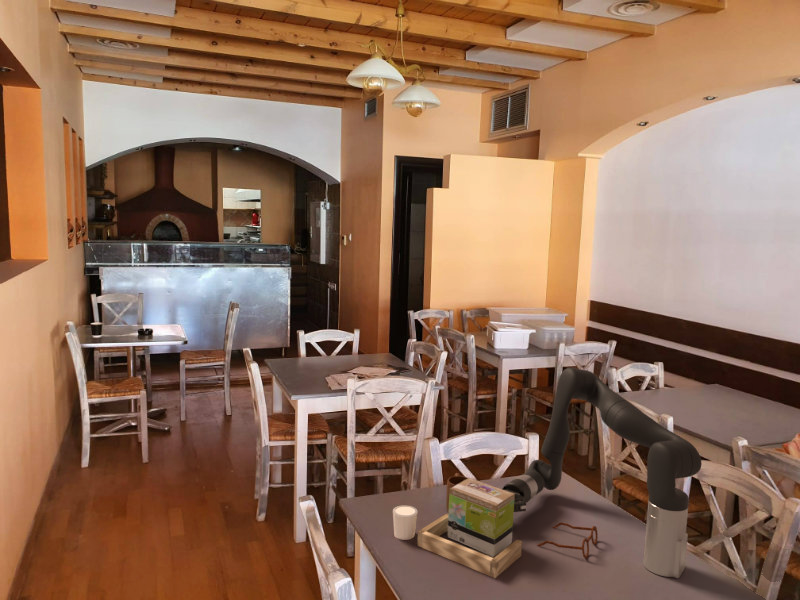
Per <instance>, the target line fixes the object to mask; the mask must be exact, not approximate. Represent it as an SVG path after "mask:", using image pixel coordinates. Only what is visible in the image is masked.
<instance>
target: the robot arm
mask: <svg viewBox="0 0 800 600" xmlns="http://www.w3.org/2000/svg"><path fill="white" fill-rule="evenodd" d="M555 390H556V391H555V395H554V401H553V406H552V411H551V417H550V422H549V425H548V426H549V427H548V429H547V433H546V435H545V437H544V441H543V444H542V445H541V450H540V452H541V455H542V456H543V457H544V458H545V459H547V460H548V462H549V463H547V462H545V461H543V460H541V459H533V461H531V463H530V464H529V466H528V468H527V469H526V471H525V472H524V473H523V474H521V475H519V476H516V477H515V478H514V479H512V480H510V481H509V482H507V483H506V484H505V485H503V488H501V489H502V490H505V491H508V492H511V493H514V494H515V499H514V513H521V512H527V503H529V502H530V501H531V500H533V499H534V497H535V496H537V495H538V494H540V493H541V492H542V491H543V490H544V488H545V489H546V490H548V491H554V490H556V489H557V488H558V487H559V486H560V484H561V481H562V475H563V474H562V473H563V461H564V455H565V452H566V451H567V447H568V444H569V441H570V437H571V428H570V421H569V415H568V413H569V407H570V404H571V402H572V399H575V400H581V401H585V402H587V403H589V404H591V405H593V406H594V407H595V408H597V409H598V410H599V415H600V417H601V420H602V422H603V423H604V424H605V425H606V426H607V428H609V429H610V430H611V431H613V432H614V433H615V434H616V435H617V436H619V437H621V438H622V439H625V440H627V441H629V442H632V443H634V444H637V445H640V446H643V447H646V448H649V450H648V452H647V460H646V461H647V464H646V465H647V466H646V469H647V471H646V473H647V474H646V487H647V491H648V503H647V504H648V505H647V516H646V524H645V525H646V526H645V539H644V549H643V550H644V553H643V563H642V564H643V566H644V567H645V568H646V570H648V571H650V572H651V573H653V574H655V575H657V576H661V577H666V578H675V579H680V577H681V576H682V573H683V572H684V571H685V569H686V568H685V567H686V559H687V557H686V556H687V547H688V537H689V536H688V535H689V533H687V525H688V524H687V523H688V512H689V504H690V499H689V495H688V494H687V492H685V491H684V490H681V489H680V488H677V487H676V480H678V479H683V478H690V477H692V476H695V475H697V474H698V473H699V472H700V470H701V469H702V458H701V455H700V453H699V451H698V450H697V448H696V447H695V446H694V444H692V443H691V442H689V441H688V440H686V439H685V438H683V437H682V436H680V435H678V434H676V433H675V432H673V431H670V430H669V429H668V428H666V427H664V426H663V425H661V424H660V423H659V422H657V421H656V420H654V419H653V418H651V417H650V416H649V415H647V414H646V413H644V412H643V411H642V410H641V409H639V408H638V407H637V406H635V405H634V404H632V403H631V402H630V401H629V400H627V399H626V398H624V397H622V396H621V395H620V394H618V392H616V391H614V390H613V389H612V388H610V387H609V386H608V385H607V384H606V383H605V382H603V380H602V379H601V378H599V376H598V375H596V374H595V373H594V372H592V371H589V370H586V369H581V368H575V367H566V368H565V369H564V370H562V372H561V374H560V375H559V378H558V381H557V386H556V389H555Z"/></svg>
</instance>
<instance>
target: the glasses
mask: <svg viewBox="0 0 800 600" xmlns="http://www.w3.org/2000/svg"><path fill="white" fill-rule="evenodd" d="M560 526H565V527H568V528H571V529H573V530H581V531H590V535H589V536H588V538H584V539H583V540H582V545H581V546H575V545H566V544H558V543H556V542H554V541H552V540H551V541H550V540H545V541H542V542H540V543H539V544H537V545H536V546H537V547H539V548H540V547H542V546H544V545H546V544H550V545H553V546H555V547H558V548H562V549H572V550H579V551H580V550H581V553H582V557H583V558H584V559H588V557H589V553H590V544H589V542H590V540H591V543H592V545H596V544H597V542H598V538H599V537H598V528H597V526H595V525H592V527H584V526H574V525H571V524H569V523H566V522H559V523H557V524H556V525H554V526H552V527H551V529H557V528H558V527H560ZM594 532H595V533H594ZM594 534H595V539H594ZM585 544H586V553H585Z"/></svg>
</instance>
